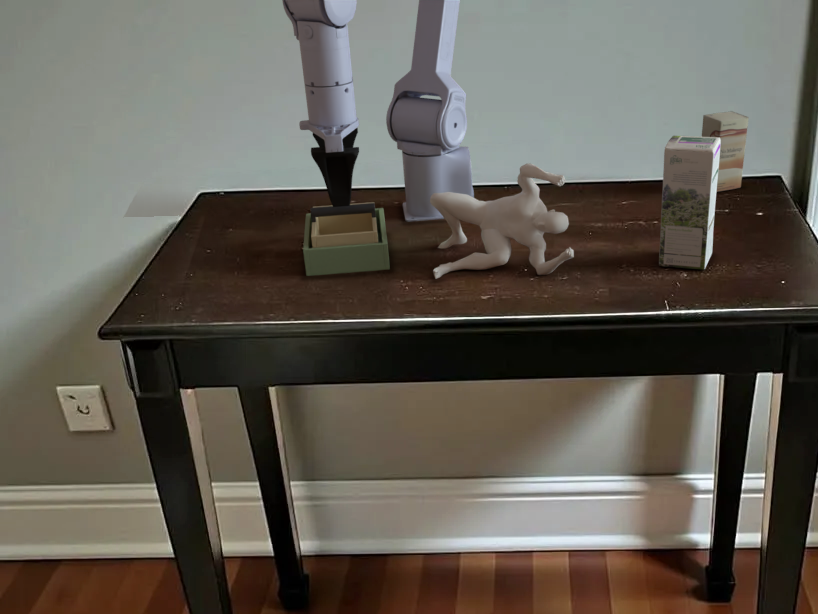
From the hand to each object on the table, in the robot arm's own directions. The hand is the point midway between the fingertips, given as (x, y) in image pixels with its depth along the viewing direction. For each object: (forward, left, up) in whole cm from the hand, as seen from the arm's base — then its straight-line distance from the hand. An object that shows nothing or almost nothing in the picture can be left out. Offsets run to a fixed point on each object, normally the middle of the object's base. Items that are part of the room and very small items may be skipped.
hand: (341, 196), depth 133 cm
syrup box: (-41, +11, -8) cm, 43 cm away
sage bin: (0, 0, -8) cm, 8 cm away
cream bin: (0, 0, -7) cm, 7 cm away
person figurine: (-19, +7, -8) cm, 22 cm away
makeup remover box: (-54, -17, -8) cm, 57 cm away
